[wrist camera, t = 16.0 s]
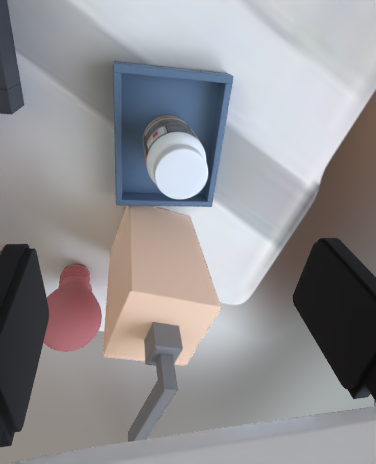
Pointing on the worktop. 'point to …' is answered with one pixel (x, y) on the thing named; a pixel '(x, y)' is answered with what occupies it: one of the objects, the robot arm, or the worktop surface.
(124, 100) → the tray
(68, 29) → the worktop surface
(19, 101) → the socket base
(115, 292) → the soap dispenser
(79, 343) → the light bulb
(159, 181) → the pill bottle
